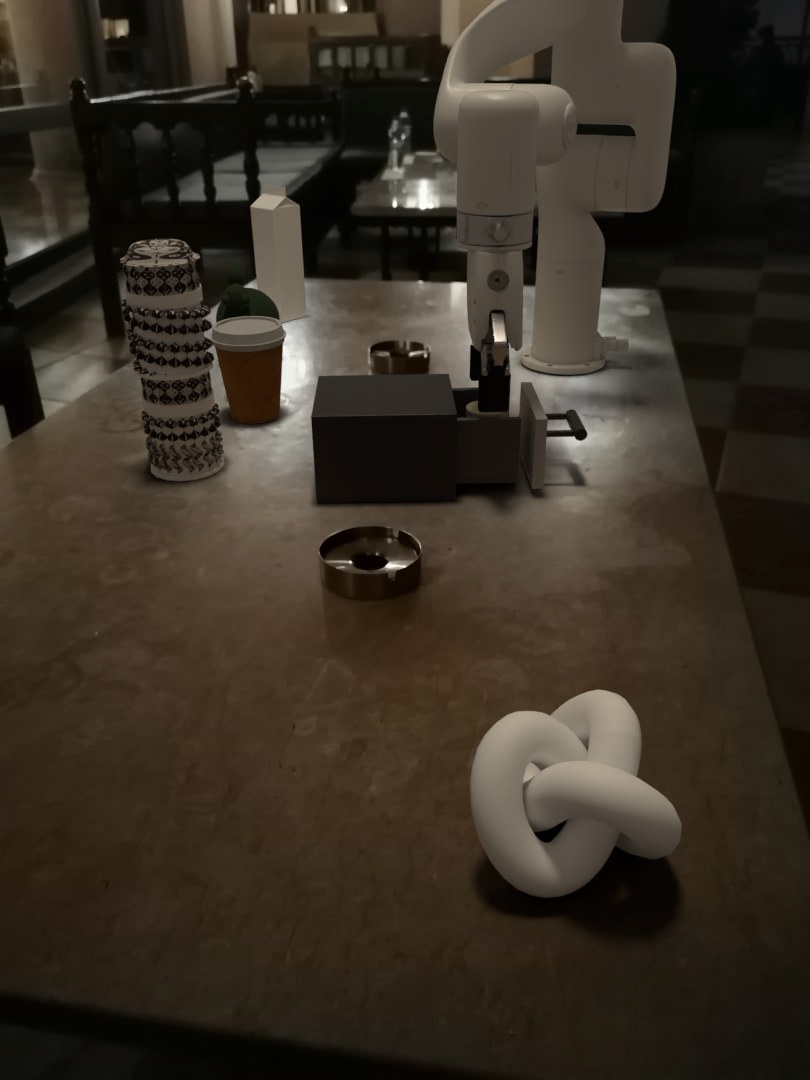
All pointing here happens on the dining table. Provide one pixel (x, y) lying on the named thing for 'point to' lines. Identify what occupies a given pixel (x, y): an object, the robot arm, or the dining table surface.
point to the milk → (279, 251)
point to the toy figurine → (243, 297)
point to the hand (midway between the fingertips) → (488, 394)
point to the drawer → (507, 439)
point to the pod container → (474, 412)
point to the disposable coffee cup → (250, 365)
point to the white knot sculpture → (566, 794)
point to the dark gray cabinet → (384, 438)
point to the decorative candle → (172, 359)
